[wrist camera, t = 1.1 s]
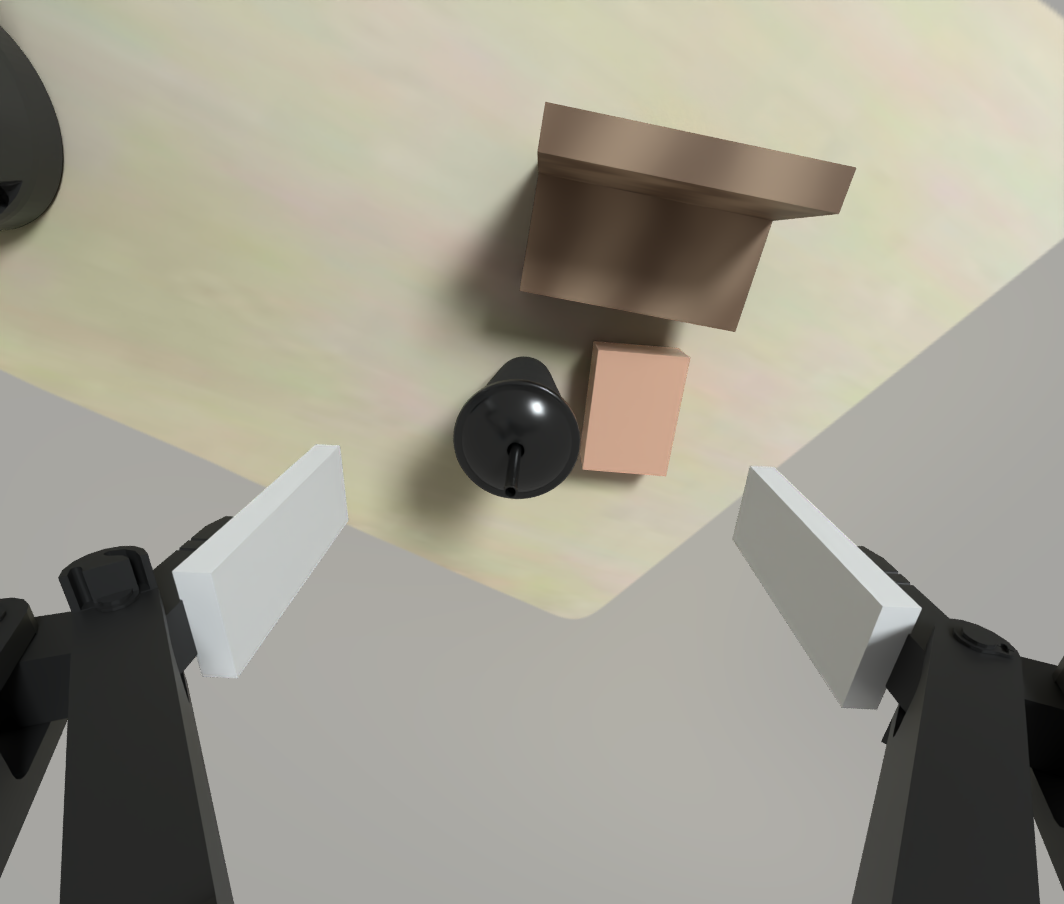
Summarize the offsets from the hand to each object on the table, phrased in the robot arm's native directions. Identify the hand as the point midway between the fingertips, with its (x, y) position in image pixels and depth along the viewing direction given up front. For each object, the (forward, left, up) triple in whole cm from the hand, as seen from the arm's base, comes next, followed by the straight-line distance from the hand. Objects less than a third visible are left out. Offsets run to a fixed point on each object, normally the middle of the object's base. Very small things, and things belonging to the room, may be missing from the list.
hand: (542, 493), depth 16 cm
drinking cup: (-1, -4, -27) cm, 27 cm away
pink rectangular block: (+8, -4, -27) cm, 29 cm away
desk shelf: (+5, +8, -27) cm, 29 cm away
